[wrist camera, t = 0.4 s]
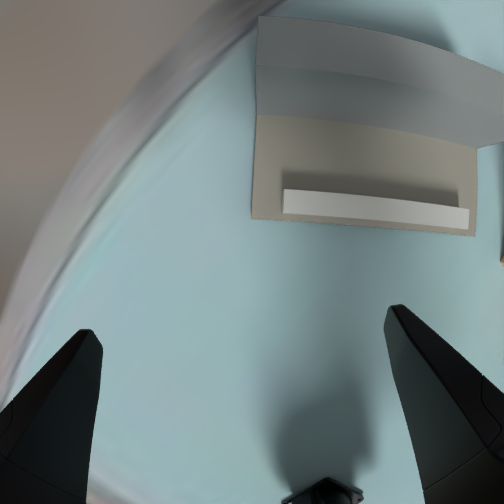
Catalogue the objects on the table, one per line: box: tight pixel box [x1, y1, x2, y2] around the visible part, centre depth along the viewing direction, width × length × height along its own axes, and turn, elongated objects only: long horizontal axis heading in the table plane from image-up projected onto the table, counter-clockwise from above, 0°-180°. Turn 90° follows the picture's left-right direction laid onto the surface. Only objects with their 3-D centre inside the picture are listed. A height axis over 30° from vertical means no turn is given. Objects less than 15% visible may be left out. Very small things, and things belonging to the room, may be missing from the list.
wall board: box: [251, 16, 504, 237], centre depth 17 cm, size 11×18×9 cm, turn 87°
